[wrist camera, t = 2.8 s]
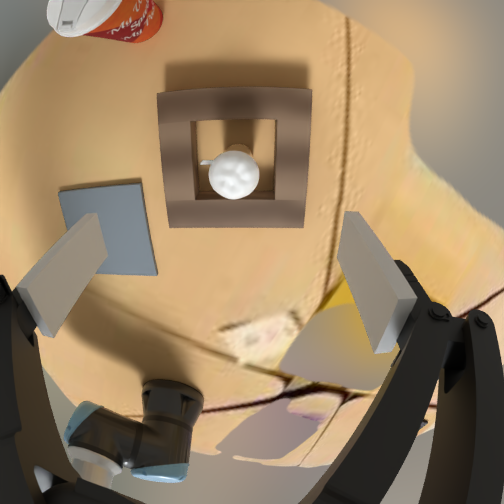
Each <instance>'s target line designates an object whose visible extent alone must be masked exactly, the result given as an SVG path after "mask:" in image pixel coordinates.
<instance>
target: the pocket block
mask: <svg viewBox="0 0 504 504" xmlns="http://www.w3.org/2000/svg"><path fill="white" fill-rule="evenodd" d="M157 107H158V125H159V139H160V151H161V162H162V173H163V182H164V191H165V199H166V207H167V214H168V222H169V228H303V227H304V217H305V205H306V193H307V180H308V166H309V151H310V133H311V111H312V89H299V88H282V87H219V88H202V89H189V90H179V91H170V92H162V93H157ZM224 119H275V151H274V185H273V191H252V192H251V193H250V194H249V195H247V196H245V197H242V198H239V199H228V198H225V197H223V196H221V195H220V194H218V193H217V192H216V191H200V190H199V176H198V159H197V140H196V121H202V120H224Z"/></svg>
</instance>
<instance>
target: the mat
mask: <svg viewBox="0 0 504 504" xmlns="http://www.w3.org/2000/svg"><path fill="white" fill-rule="evenodd" d="M58 196H59V200H60V204H61V208H62V212H63V216H64V220H65V223H66V227H67V230H69V229H70V228H71V227H72V226H73V225H74V224H76V223H77V222H78V221H79V220H80V219H81V218H82V217H83V216H84V215H85V214H87V213H97V215H98V219H99V224H100V228H101V231H102V235H103V239H104V243H105V246H106V250H107V253H108V256H107V257H106V259H105V260H104V262H103V263H102V264H101V266H100V267H99V269H98V270H97V271H96V273H95V274H116V275H144V276H157V275H158V271H157V267H156V262H155V257H154V252H153V247H152V242H151V237H150V231H149V226H148V220H147V214H146V208H145V201H144V195H143V188H142V183H133V184H121V185H110V186H100V187H91V188H83V189H75V190H67V191H60V192H58Z"/></svg>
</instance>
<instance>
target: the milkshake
mask: <svg viewBox="0 0 504 504" xmlns="http://www.w3.org/2000/svg"><path fill="white" fill-rule="evenodd" d="M200 165H211V166H210V169H209V181H210V184H211V186H212V187H213V189H214V190H215V191H216V192H217V193H218V194H220V195H221V196H223V197H225V198H228V199H239V198H242V197H245V196H247V195H249V194H250V193H251V192H252V191H253V190H254V189H255V188H256V186H257V184H258V181H259V168H258V165H257V163H256V162H255V160H254V158H253V156H252V153H251V151H250V148H248V147H246V146H245V145H243V144H233V145H232V146H230V147H229V148H228V149H226V150H225V151H224V152H223V153H221V154H220V155H218V156H217V157H216V158H215V159H214V160H202V161H201V163H200Z"/></svg>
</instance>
